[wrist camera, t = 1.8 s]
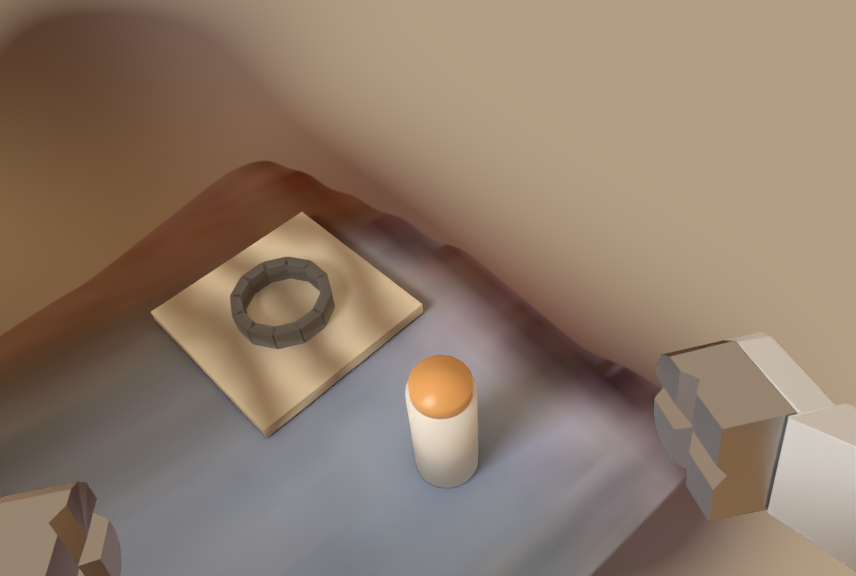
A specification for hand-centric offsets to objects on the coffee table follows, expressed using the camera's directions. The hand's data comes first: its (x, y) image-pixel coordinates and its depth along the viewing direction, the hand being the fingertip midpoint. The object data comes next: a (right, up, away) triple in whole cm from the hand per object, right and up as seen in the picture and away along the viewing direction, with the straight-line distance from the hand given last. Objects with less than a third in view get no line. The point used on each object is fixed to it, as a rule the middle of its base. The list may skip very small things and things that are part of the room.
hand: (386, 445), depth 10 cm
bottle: (+2, -11, +48) cm, 49 cm away
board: (-13, 0, +58) cm, 59 cm away
